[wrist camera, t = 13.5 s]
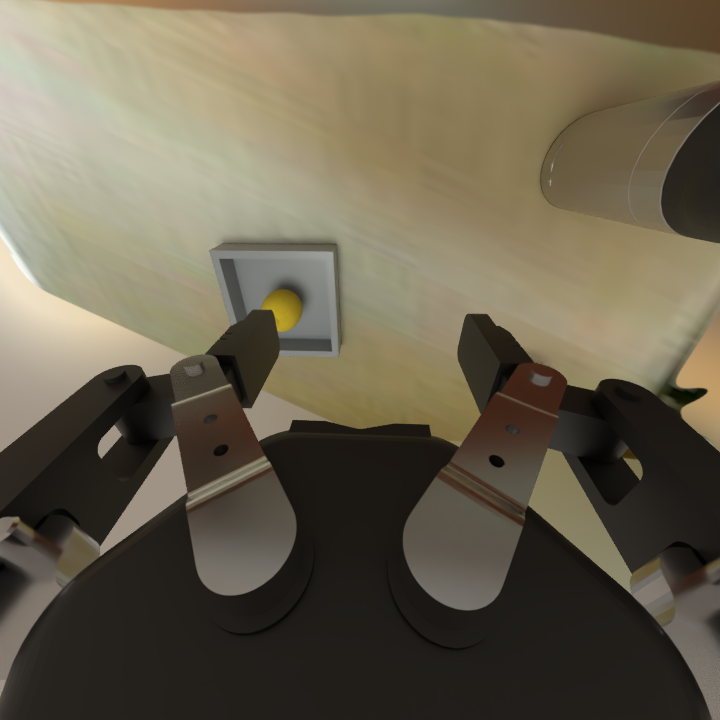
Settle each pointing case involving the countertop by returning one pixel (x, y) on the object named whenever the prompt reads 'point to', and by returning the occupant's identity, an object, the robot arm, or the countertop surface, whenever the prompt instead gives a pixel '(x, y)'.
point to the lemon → (284, 308)
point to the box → (291, 272)
